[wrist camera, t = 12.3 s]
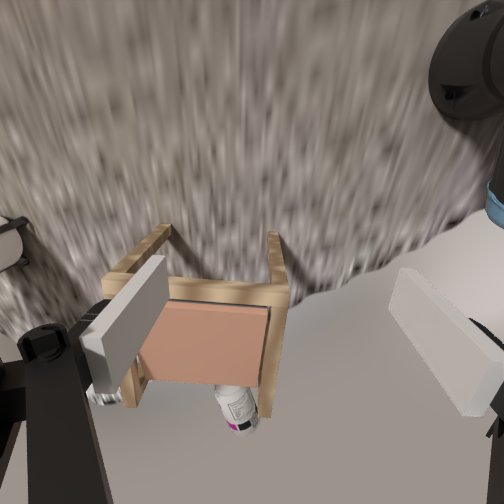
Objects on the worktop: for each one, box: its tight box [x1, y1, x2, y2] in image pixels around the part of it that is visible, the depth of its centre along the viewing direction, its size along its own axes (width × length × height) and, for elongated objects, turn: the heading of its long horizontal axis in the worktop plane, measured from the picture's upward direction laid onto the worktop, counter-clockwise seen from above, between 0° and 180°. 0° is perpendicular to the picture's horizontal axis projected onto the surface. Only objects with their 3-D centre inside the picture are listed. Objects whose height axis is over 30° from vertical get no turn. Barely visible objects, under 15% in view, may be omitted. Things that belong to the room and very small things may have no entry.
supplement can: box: [214, 384, 260, 437], centre depth 68 cm, size 8×8×15 cm
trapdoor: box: [138, 299, 268, 387], centre depth 39 cm, size 18×18×2 cm
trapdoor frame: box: [101, 223, 290, 418], centre depth 47 cm, size 23×23×22 cm
